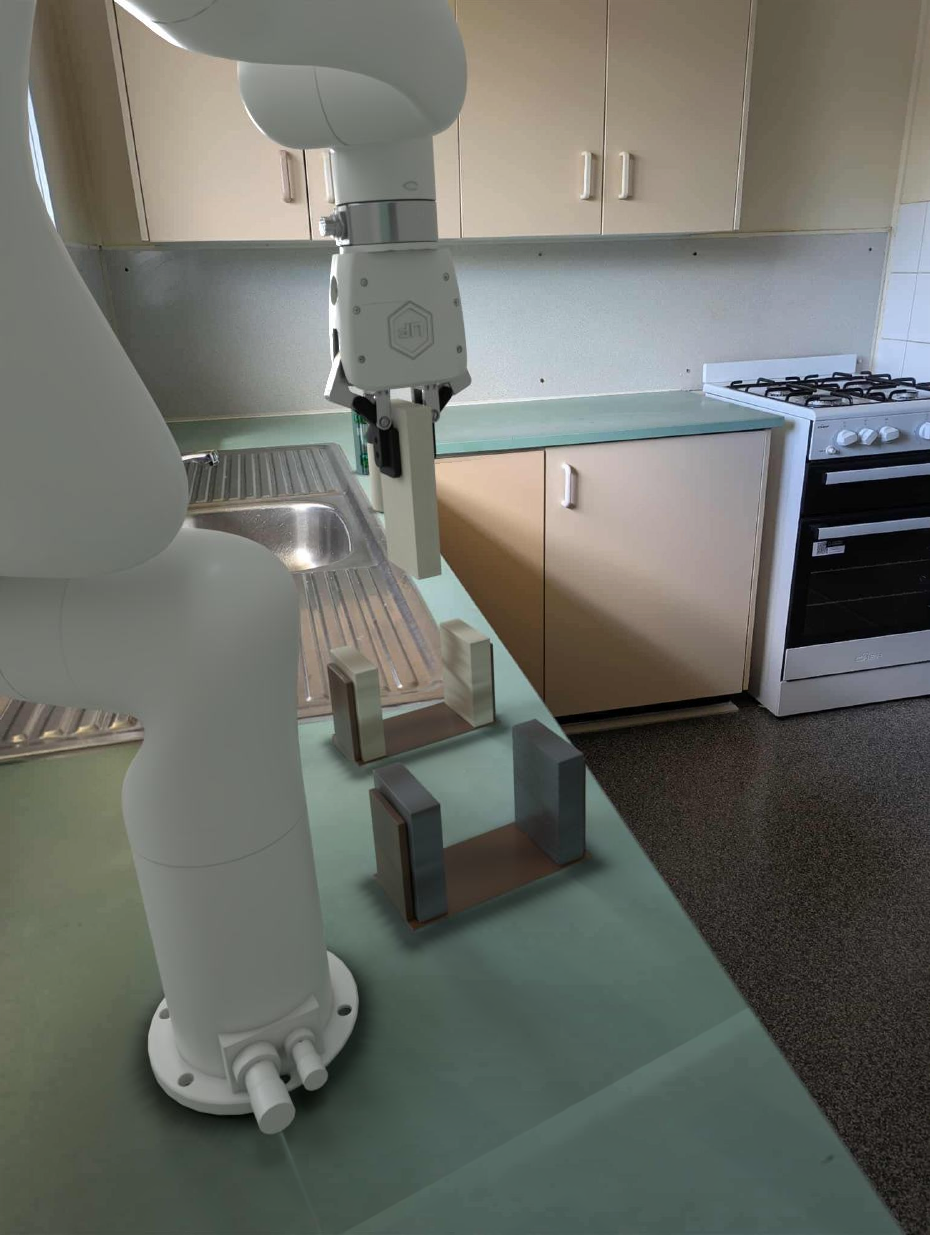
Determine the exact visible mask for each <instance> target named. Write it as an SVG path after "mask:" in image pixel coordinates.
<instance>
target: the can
mask: <svg viewBox="0 0 930 1235" xmlns="http://www.w3.org/2000/svg"><path fill="white" fill-rule="evenodd" d="M350 413H351V414H350V415H351V423H352V424H351V425H352V434H353V435H352V436H353V445H354V456H355V465H356V473H357V474H359V475H369V476H370V474H369V463H368V452H367V441H366V432H367V429H368V427H369V425H368V424H367V423H366V421H365V420H364V419H363V418H361V417H360V416H359V415H358V414H357V413H356V412H354V411H353V410H352V409H350Z"/></svg>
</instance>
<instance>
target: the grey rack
mask: <svg viewBox="0 0 930 1235" xmlns="http://www.w3.org/2000/svg"><path fill="white" fill-rule="evenodd" d="M511 733H512V734H511V737H512V738H511V739H512V740H511V741H512V771H513V773H512V774H513V795H514V796H513V802H514V821H513V822H510V823H508V824H505V825H502V826H500V827H497V828H494V829H492V830H488V831H486V832H484V833H483V832H482V833H481V834H478V835H475V836H472V837H470V838H467V839H464V840H462V841H459V842H457V843H454V844H451V845H449V846H446V847H444V837H443V822H442V809H441V808H442V807H441V803H440V802H439V801H438V800H437V798H435V796H433V794H432V793H431V792H429V790H428V789H427V788H426V786H425V785H423V784H422V782H420V781H419V779H418V778H417V777H416V776H414V774H413V773H412V772H411V771H410V770H409V769H408V768H407V767H406V766H405V765H404V764H403V763H402V762H401V761H398V762H395V763H394V762H393V763H391V764H388V765H385V766H383V767H382V766H381V767H379V768H375V769H373V770H372V776H373V785H374V786H373V788H370V789H368V798H369V806H370V817H371V825H372V833H373V834H372V836H373V843H374V844H373V846H374V854H375V863H376V865H375V866H376V873H374V874H373V875H372V876H373V877H374V879H375V880H376V882H377V883H378V884H379V886H380V887H381V888H382V890H383V891H384V893H385V894H386V895H387V897H388V898H389V900H390V902H391V903H392V904H393V906H394V907H395V908H396V910H397V911H398V912H399V914H400V915H401V917H402V918H403V919H404V921H405V922H406V923H407V925H408V926H409V928H410V929H411V931H412V932H415V931H416V930H419V929H421V928H424V927H426V926H428V925H431V924H434V923H436V922H438V921H439V922H440V921H441V920H443V919H446V918H447V917H450V916H453V915H456V914H457V913H458V914H459V913H460V912H463V911H465V910H468V909H469V908H472V907H475V906H477V905H479V904H483V903H485V902H487V901H490V900H491V899H495V898H497V897H499V896H501V895H504V894H506V893H510V892H512V891H513V890H516V889H519V888H521V887H523V886H526V885H528V884H531V883H533V882H536V881H537V880H540V879H542V878H545V877H547V876H550V875H552V874H554V873H557V872H560V871H562V870H564V869H567V868H569V867H572V866H575V865H576V864H579V863H582V862H584V861H587V860H590V859H591V858H593V857H594V855H593V854H592V853H591V852H589V851H588V850H587V848H586V844H587V843H586V842H587V841H586V838H587V837H586V836H587V835H586V834H587V833H586V832H587V831H586V823H587V822H586V821H587V820H586V819H587V818H586V817H587V816H586V815H587V814H586V813H587V812H586V810H587V808H586V807H587V798H586V797H587V788H586V787H587V778H586V777H587V773H586V772H587V758H586V757H585V756H584V755H585V754H584V753H583V752H582V751H581V750H579V749H577V748H576V747H575V746H574V745H572V744H571V743H569V742H568V741H567V740H566V739H564V738H562V737H561V736H560V735H558V734H557V733H556V732H555V731H553V730H552V729H550V728H549V727H548V726H546V725H545V724H543V723H542V722H541V721H540V720H538V719H537V718H532V719H530V720H527V721H524V722H521V723H517V724H515V725H512V726H511Z"/></svg>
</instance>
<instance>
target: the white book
mask: <svg viewBox="0 0 930 1235" xmlns="http://www.w3.org/2000/svg"><path fill="white" fill-rule="evenodd" d="M390 400H391V418H392V423H393V428H396V429H397V430H398V433H399V444H400V457H401V470H402V475H401V476H400V477H399V478H391V477H389V476H387V475H385V474H382V473H381V472H380V473H381V484H382V496H383V507H384V513H383V517H384V529H385V538H386V539H385V540H386V550H387V552H386V553H387V560H388V561H389V562H390V563H391V564H393V565H394V566H395V567H398V568H399V569H400V570H402V571H404V572H405V573H407V574H409V575H410V576H412V577H414V578H415V579H416V580H418V581H421V580H424V579H425V580H426V579H429V578H434V577H438V576H442V575H443V572H442V557H441V542H440V525H439V524H440V523H439V511H438V510H439V509H438V496H437V494H438V493H437V479H436V478H437V477H436V463H435V459H434V445H433V430H432V414H431V407H429V406H425V405H421V404H417V403H413V402H412V401H409V400H407V399H406V400H405V399H401V398H390Z"/></svg>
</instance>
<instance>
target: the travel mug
mask: <svg viewBox="0 0 930 1235" xmlns="http://www.w3.org/2000/svg"><path fill="white" fill-rule="evenodd" d="M366 441H367V452H368V463H369V482H370V483H369V484H370V494H371V504H372V505H371V506H372V509H373V510H374V511H376V512H379V513H383V514H384V507H383V496H382V484H381V473H380V469H379V467H377V466H376V464H375V460H374V450H373V439H372V428H371V425H369V427H368V429H367V432H366Z"/></svg>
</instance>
